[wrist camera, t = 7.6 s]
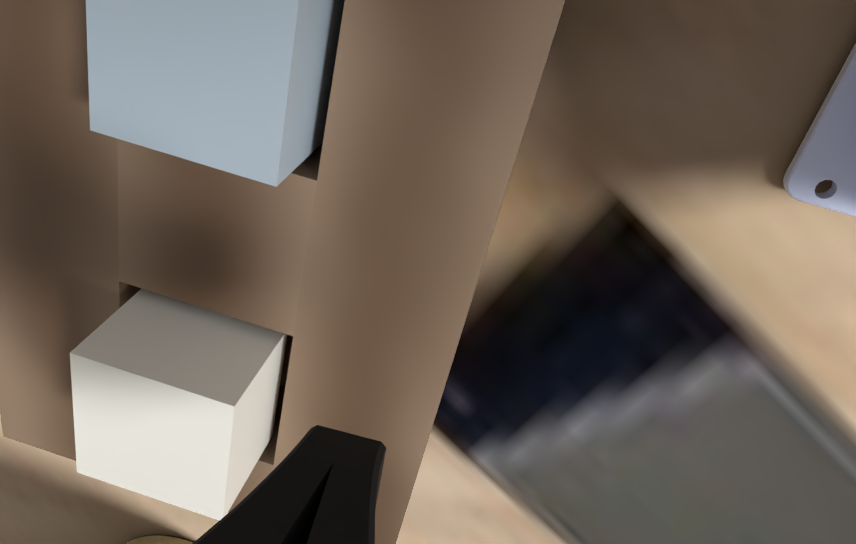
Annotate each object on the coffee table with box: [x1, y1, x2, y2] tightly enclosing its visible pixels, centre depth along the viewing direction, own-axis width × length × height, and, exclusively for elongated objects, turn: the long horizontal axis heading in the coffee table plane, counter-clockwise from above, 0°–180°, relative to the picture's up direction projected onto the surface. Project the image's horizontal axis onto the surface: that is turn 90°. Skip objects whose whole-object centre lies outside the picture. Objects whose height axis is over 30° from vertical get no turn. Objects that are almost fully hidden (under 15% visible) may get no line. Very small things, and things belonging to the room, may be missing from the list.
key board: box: [0, 0, 565, 544], centre depth 17 cm, size 14×31×4 cm, turn 167°
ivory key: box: [70, 289, 287, 521], centre depth 20 cm, size 4×4×4 cm
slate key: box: [86, 0, 345, 187], centre depth 16 cm, size 4×4×4 cm
